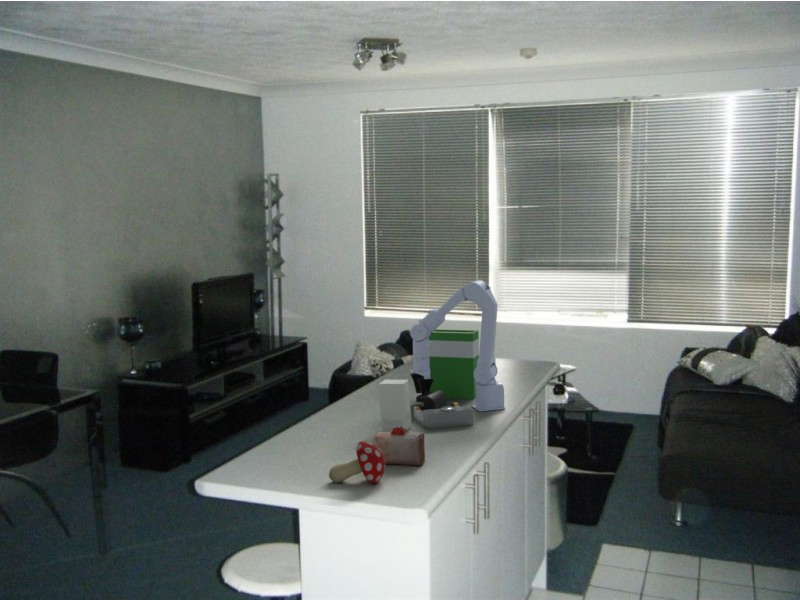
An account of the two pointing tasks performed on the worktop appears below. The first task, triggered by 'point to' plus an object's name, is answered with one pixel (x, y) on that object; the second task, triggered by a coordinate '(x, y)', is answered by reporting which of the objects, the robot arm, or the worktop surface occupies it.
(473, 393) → the green box
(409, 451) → the food item
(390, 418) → the skincare box
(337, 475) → the decorative mushroom
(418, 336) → the robot arm
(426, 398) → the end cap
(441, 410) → the motor housing with clip cradle
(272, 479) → the worktop surface
